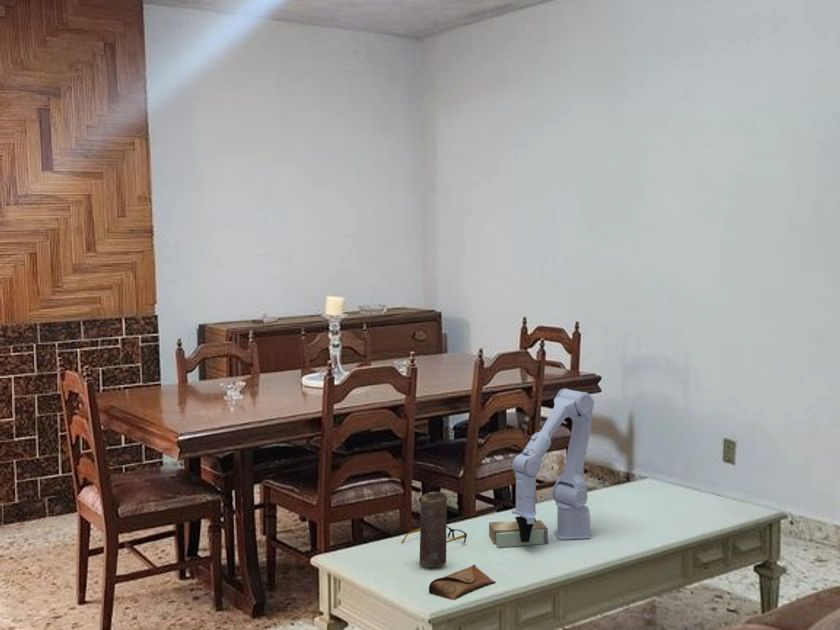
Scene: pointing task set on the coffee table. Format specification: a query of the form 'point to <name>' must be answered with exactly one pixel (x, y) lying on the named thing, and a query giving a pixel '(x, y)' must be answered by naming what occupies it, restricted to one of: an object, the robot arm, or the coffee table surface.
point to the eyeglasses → (448, 535)
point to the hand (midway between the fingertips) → (525, 541)
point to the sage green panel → (515, 540)
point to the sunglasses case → (459, 583)
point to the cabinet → (510, 528)
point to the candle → (433, 529)
